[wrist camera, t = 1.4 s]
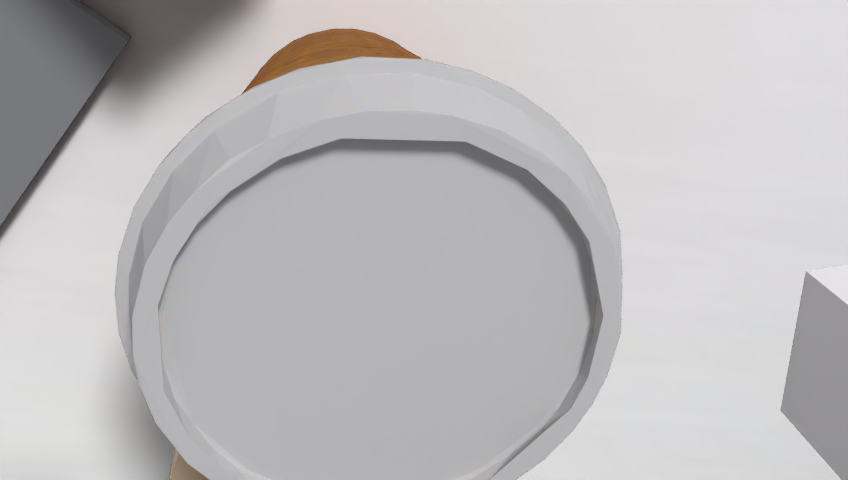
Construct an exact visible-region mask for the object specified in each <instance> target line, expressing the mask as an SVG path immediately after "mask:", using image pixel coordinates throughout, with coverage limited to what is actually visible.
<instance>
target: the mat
mask: <svg viewBox="0 0 848 480" xmlns="http://www.w3.org/2000/svg"><path fill="white" fill-rule="evenodd" d="M130 38H131V37H130V36H129V35H128V34H126V33H125V32H123V31H122V30H120V29H119V28H118V27H116V26H115V25H113V24H112V23H110V22H109V21H108V20H106V19H105V18H103V17H102V16H101V15H99V14H98V13H96V12H95V11H93V10H92V9H91V8H89V7H88V6H86V5H85V4H83V3H82V2H81V1H79V0H0V226H1V225H2V223H3V222H4V220H5V219H6V217H7V216H8V215H9V213H10V212H11V210H12V209H13V207H14V206H15V204H16V203H17V202H18V200H19V199H20V197H21V196H22V194H23V193H24V191H25V190H26V188H27V187H28V186H29V184H30V183H31V181H32V180H33V178H34V177H35V175H36V174H37V173H38V171H39V170H40V168H41V167H42V165H43V164H44V162H45V161H46V159H47V158H48V157H49V155H50V154H51V152H52V151H53V149H54V148H55V146H56V145H57V144H58V142H59V141H60V139H61V138H62V136H63V135H64V133H65V132H66V130H67V129H68V128H69V126H70V125H71V123H72V122H73V120H74V119H75V117H76V116H77V115H78V113H79V112H80V110H81V109H82V107H83V106H84V104H85V103H86V102H87V100H88V99H89V97H90V96H91V94H92V93H93V91H94V90H95V88H96V87H97V86H98V84H99V83H100V81H101V80H102V78H103V77H104V75H105V74H106V73H107V71H108V70H109V68H110V67H111V65H112V64H113V62H114V61H115V59H116V58H117V57H118V55H119V54H120V52H121V51H122V49H123V48H124V46H125V45H126V44H127V42H128V41H129V39H130Z"/></svg>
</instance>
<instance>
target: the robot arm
mask: <svg viewBox="0 0 848 480" xmlns="http://www.w3.org/2000/svg"><path fill="white" fill-rule="evenodd" d="M781 412H782V413H783V414H784V415H785V416H786V417H787V418H788V420H789V421H790V422H791V423H792V424H793V425H794V426H795V427H796V429H797V430H798V431H799V432H800V433H801V434H802V435H803V436H804V438H805V439H806V440H807V441H808V442H809V443H810V444H811V446H812V447H813V448H814V449H815V450H816V451H817V452H818V453H819V455H820V456H821V457H822V458H823V459H824V460H825V461H826V462H827V464H828V465H829V466H830V467H831V468H832V469H833V470H834V471H835V473H836V474H837V475H838V476H839V477H840V478H841V479H842V480H848V264H847V265H840V266H834V267H828V268H821V269H815V270H809V271H806V274H805V279H804V285H803V290H802V296H801V301H800V307H799V312H798V318H797V323H796V329H795V334H794V340H793V345H792V351H791V356H790V362H789V367H788V373H787V378H786V384H785V389H784V395H783V400H782V406H781Z"/></svg>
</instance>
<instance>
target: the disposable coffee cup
mask: <svg viewBox="0 0 848 480" xmlns="http://www.w3.org/2000/svg"><path fill="white" fill-rule="evenodd" d="M621 279H622V259H621V241H620V230H619V226H618V223H617V220H616V217H615V214H614V211H613V208H612V205H611V202H610V198H609V195H608V192H607V189H606V186H605V184H604V182H603V181H602V179H601V177H600V176H599V174H598V172H597V171H596V169H595V167H594V166H593V164H592V163H591V161H590V159H589V158H588V156H587V154H586V153H585V151H584V149H583V148H582V147H581V145H580V144H579V143H578V142H577V141H576V140H575V139H574V138H573V137H572V136H571V135H570V134H569V133H568V132H567V131H566V130H565V129H564V128H563V127H562V126H561V125H560V124H559V123H558V122H557V121H556V120H555V119H554V118H553V117H552V116H551V115H550V114H548V113H547V112H546V111H544V110H543V109H541V108H540V107H539V106H537V105H536V104H535V103H533V102H532V101H530V100H529V99H528V98H526V97H525V96H523V95H522V94H521V93H519V92H517V91H516V90H514V89H512V88H510V87H508V86H506V85H503V84H501V83H499V82H496V81H494V80H492V79H489V78H487V77H485V76H482V75H480V74H478V73H476V72H473V71H471V70H467V69H463V68H459V67H455V66H451V65H447V64H443V63H439V62H435V61H431V60H427V59H421V58H420V57H418V56H416V55H415V54H413V53H411V52H410V51H407V50H406V49H404V48H403V47H401V46H400V45H398V44H397V43H395V42H394V41H392V40H389V39H387V38H385V37H382V36H380V35H378V34H375V33H371V32H366V31H362V30H357V29H330V30H326V31H321V32H317V33H312V34H308V35H306V36H304V37H301V38H299V39H297V40H294V41H292V42H291V43H289V44H288V45H287V46H285V47H284V48H282V49H281V50H280V51H278V52H277V53H276V54H274V55H273V56H272V57H271V58H270V59H269V60H268V62H267V63H266V64H265V65H264V66H263V67H262V68H261V69H260V71H259V72H258V74H257V75H256V76H255V78H254V79H253V80H252V81H251V83H250V84H249V85H248V86H247V88H246V89H245V90H244V92H243V93H242V94H241V95H240V96H238V97H237V98H235V99H233V100H232V101H230V102H229V103H227V104H225V105H224V106H222V107H221V108H219V109H218V110H216V111H214V112H213V113H211V114H210V115H208V116H206V117H205V118H204V119H203V120H202V121H201V122H200V123H199V124H198V125H197V126H195V127H194V128H193V129H192V130H191V131H190V132H189V133H188V134H187V135H186V136H185V137H184V138H183V139H182V140H181V141H180V142H179V143H178V144H177V146H176V147H175V148H174V149H173V150H172V151H171V152H170V153H169V154H168V155H167V156H166V158H165V159H164V160H163V162H162V163H161V164H160V165H159V167H158V168H157V169H156V171H155V173H154V174H153V176H152V178H151V179H150V181H149V183H148V184H147V186H146V188H145V189H144V191H143V193H142V194H141V196H140V198H139V199H138V201H137V203H136V204H135V206H134V208H133V211H132V214H131V218H130V221H129V224H128V227H127V230H126V233H125V236H124V239H123V242H122V246H121V249H120V252H119V255H118V264H117V275H116V286H115V299H116V309H117V319H118V329H119V334H120V337H121V340H122V343H123V346H124V349H125V352H126V355H127V358H128V361H129V364H130V367H131V370H132V372H133V373H134V375H135V377H136V379H137V380H138V382H139V386H140V389H141V391H142V393H143V396H144V398H145V400H146V402H147V405H148V407H149V409H150V412H151V414H152V416H153V419H154V421H155V423H156V425H157V426H158V427H159V428H160V430H161V431H162V432H163V433H164V435H165V436H166V437H167V438H168V440H169V441H170V442H171V443H172V445H173V446H174V447H175V448H176V450H177V451H178V452H179V453H180V455H181V456H182V457H183V458H184V460H185V461H186V462H187V463H188V464H189V465H190V466H192V467H193V468H194V469H196V470H197V471H198V472H200V473H201V474H203V475H204V476H205V477H207V478H208V479H209V480H517V479H518V478H519V477H521V476H522V475H524V474H525V473H526V472H528V471H529V470H530V469H532V468H533V467H535V466H536V465H537V464H539V463H540V462H541V461H543V460H544V459H545V458H546V457H547V456H548V455H549V454H550V453H551V452H552V451H553V450H554V449H555V448H556V447H557V446H558V445H559V444H560V443H561V442H562V441H563V440H564V439H565V438H566V437H567V436H568V435H569V434H570V433H571V432H572V431H573V430H574V429H575V428H576V426H577V425H578V423H579V422H580V421H581V419H582V418H583V416H584V415H585V414H586V412H587V411H588V409H589V408H590V407H591V405H592V404H593V402H594V400H595V398H596V396H597V395H598V393H599V391H600V389H601V387H602V385H603V383H604V381H605V379H606V377H607V375H608V372H609V368H610V365H611V362H612V359H613V356H614V353H615V350H616V347H617V344H618V340H619V337H620V334H621V307H622V282H621Z"/></svg>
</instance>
